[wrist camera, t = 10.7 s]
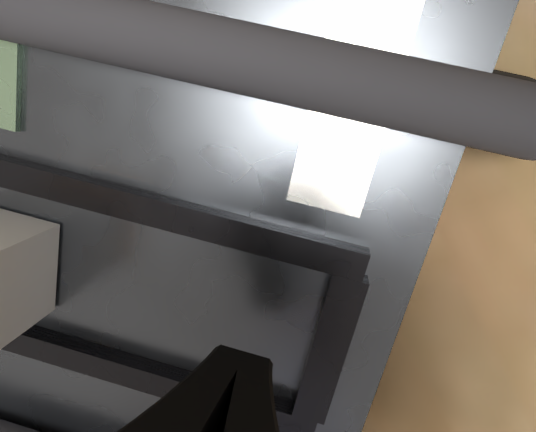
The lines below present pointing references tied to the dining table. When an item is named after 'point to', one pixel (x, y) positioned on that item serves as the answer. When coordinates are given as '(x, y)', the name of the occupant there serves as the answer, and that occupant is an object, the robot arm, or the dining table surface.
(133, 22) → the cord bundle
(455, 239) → the dining table surface
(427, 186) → the breaker panel
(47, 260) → the breaker lever
